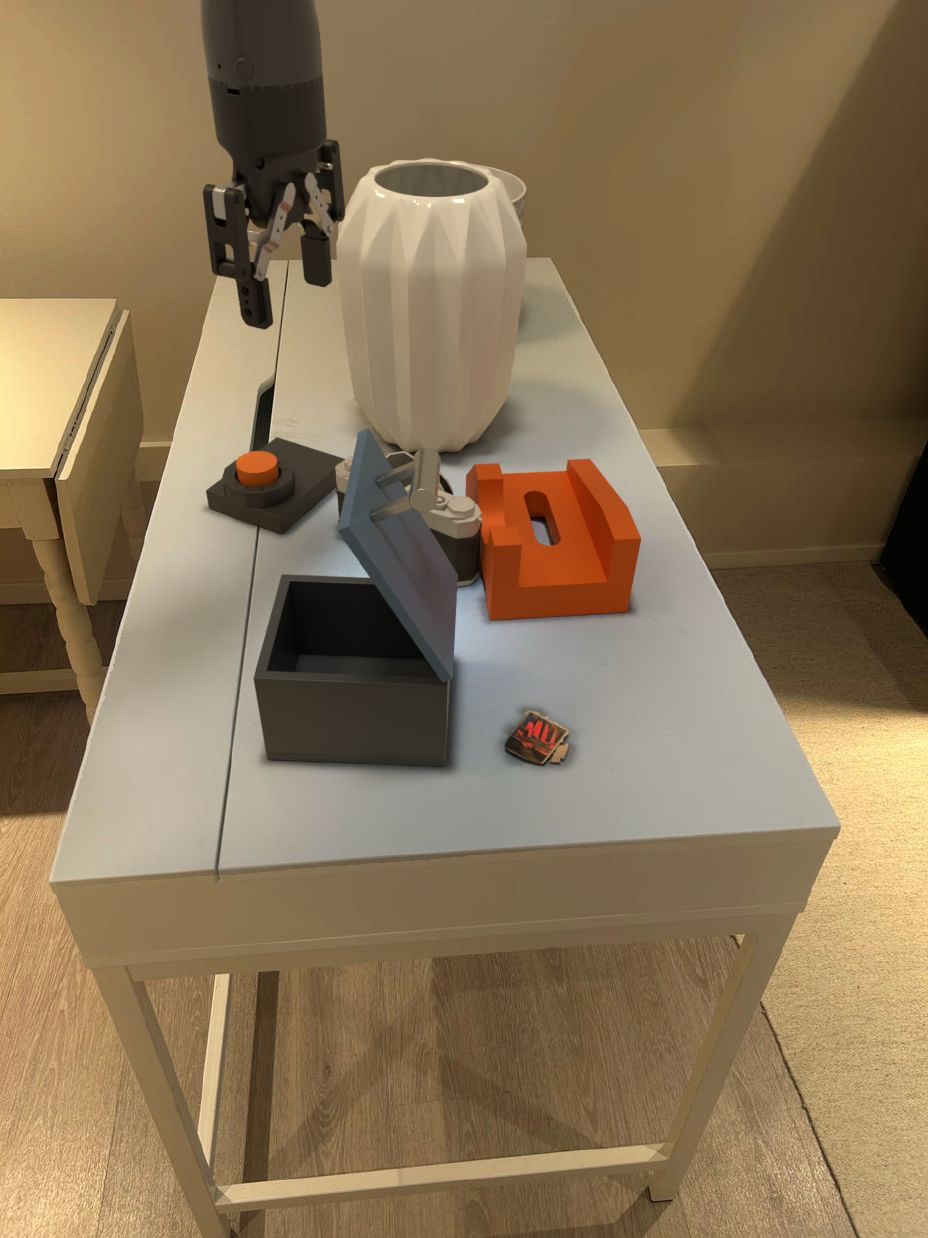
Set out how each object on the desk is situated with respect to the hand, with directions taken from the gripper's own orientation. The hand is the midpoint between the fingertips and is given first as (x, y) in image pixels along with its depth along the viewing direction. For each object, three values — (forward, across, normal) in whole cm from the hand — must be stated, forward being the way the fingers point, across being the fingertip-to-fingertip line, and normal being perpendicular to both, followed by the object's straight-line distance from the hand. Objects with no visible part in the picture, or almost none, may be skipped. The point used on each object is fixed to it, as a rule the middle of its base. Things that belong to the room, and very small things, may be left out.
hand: (289, 304), depth 73 cm
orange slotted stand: (+26, -10, +19) cm, 34 cm away
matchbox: (+25, +12, +27) cm, 39 cm away
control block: (+25, -8, -9) cm, 28 cm away
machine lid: (+10, +13, +16) cm, 23 cm away
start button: (+22, -5, -10) cm, 24 cm away
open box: (+25, +15, +13) cm, 32 cm away
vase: (+26, -27, -1) cm, 37 cm away
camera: (+26, -7, +8) cm, 28 cm away
